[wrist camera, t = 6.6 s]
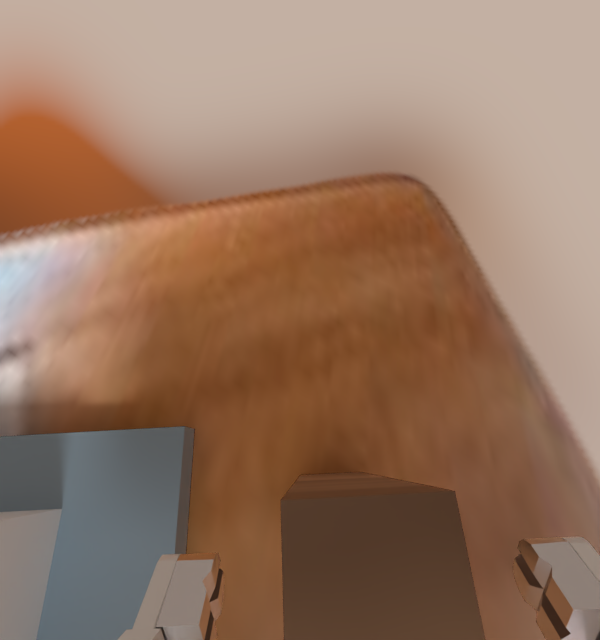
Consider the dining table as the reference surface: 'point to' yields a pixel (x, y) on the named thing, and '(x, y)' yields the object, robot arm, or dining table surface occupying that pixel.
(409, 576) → the brown wooden peg
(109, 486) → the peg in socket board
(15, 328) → the dining table surface
